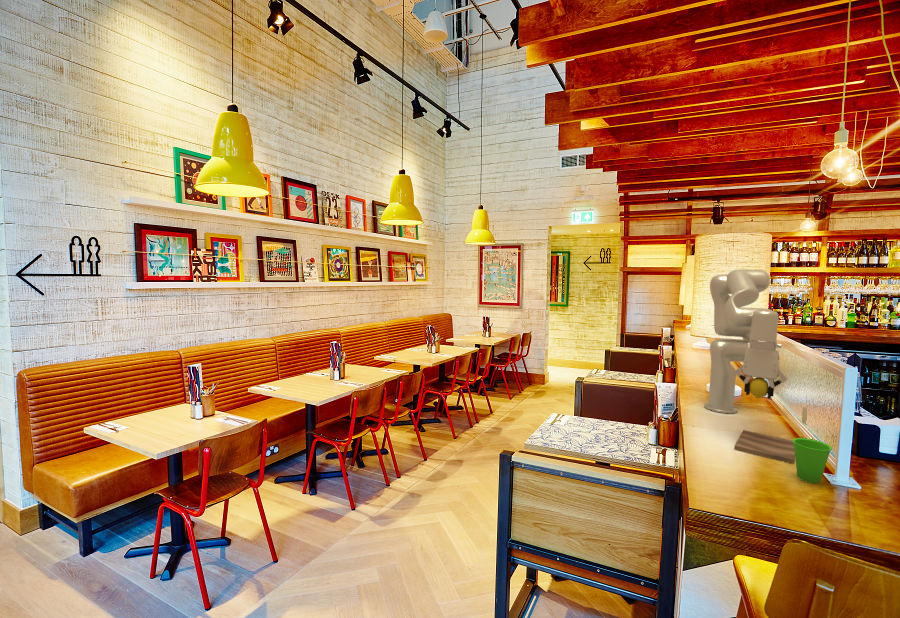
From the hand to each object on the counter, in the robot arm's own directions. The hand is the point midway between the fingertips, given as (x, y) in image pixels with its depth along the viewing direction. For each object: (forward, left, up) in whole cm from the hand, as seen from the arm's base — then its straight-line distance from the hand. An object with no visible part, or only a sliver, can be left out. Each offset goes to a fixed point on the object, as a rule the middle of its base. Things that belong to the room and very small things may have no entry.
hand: (758, 395), depth 151 cm
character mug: (-17, +15, -18) cm, 29 cm away
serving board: (+1, +3, -18) cm, 18 cm away
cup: (+21, +15, -18) cm, 32 cm away
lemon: (0, 0, -1) cm, 1 cm away
